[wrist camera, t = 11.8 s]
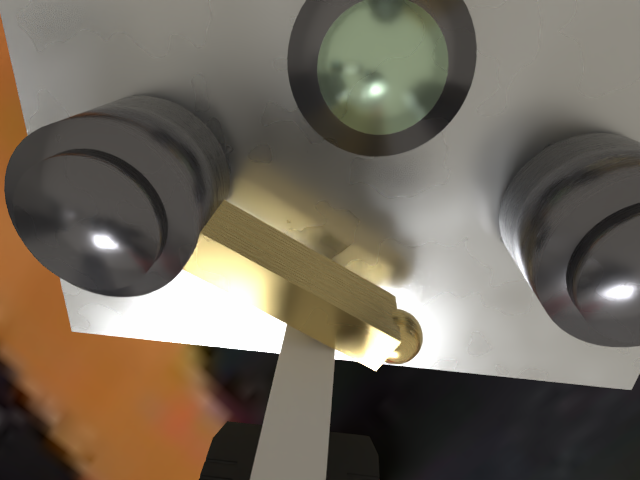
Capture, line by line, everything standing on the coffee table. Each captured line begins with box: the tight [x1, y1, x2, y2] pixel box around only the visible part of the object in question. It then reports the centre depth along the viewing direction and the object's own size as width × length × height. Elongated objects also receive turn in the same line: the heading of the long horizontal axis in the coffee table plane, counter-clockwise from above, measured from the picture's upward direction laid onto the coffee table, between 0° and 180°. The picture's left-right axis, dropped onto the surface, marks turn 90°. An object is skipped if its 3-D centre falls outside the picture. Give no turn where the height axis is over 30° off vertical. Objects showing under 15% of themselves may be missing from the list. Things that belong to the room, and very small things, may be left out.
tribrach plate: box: [0, 0, 640, 390], centre depth 12 cm, size 20×20×4 cm
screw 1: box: [4, 95, 423, 371], centre depth 12 cm, size 11×4×4 cm, turn 59°
